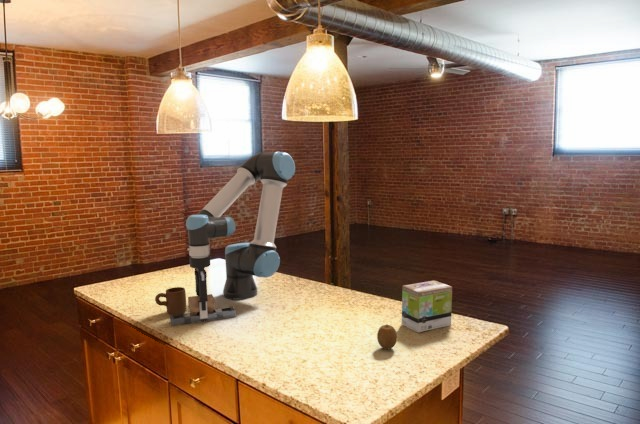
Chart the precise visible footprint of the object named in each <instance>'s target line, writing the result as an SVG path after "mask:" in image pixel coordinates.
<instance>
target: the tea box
mask: <svg viewBox="0 0 640 424" xmlns="http://www.w3.org/2000/svg"><path fill="white" fill-rule="evenodd" d="M401 289H402V291H401V293H402V295H401V296H402V297H401V325H403V326H404V327H406V328H408V329H410V330H411V331H414V332H416V333H419V334H420V333H422V332H425V331H426V332H427V331H430V330H435V329H440V328H446V327H450V326H451V325H452V314H453V313H452V310H453V309H452V308H453V307H452V304H453V303H452V302H453V286H451V285H448V284H447V283H443V282H439V281H438V280H428V281H424V282H417V283H412V284H404V285H402V288H401Z"/></svg>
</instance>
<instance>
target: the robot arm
mask: <svg viewBox="0 0 640 424" xmlns="http://www.w3.org/2000/svg"><path fill="white" fill-rule="evenodd" d="M295 172H296V164H295V161H294V159H293V157H292V156H291V155H290V154H289V153H287V152H284V151H274V152H273V151H271V152H269V151H268V152H258V153H255V154H254V155H252V156H251V157H249V158H248V159H247V160H245V161H244V162H242V164H241V165H240V166H239V167H238V168H237V170H236V174H234V176H233V177H232V178H230V180H229V181H228V182H226V183H225V185H224V186H223V187H222V188H221V189H220V190H219V191H218V192H217V193H216V195H214V196H213V198H212V199H210V200H209V201H208V203H207V204H206V205H205V206H204V207H203V208H202V209H200V211H199V212H198V213H197V214H191V215H189V216H188V217H187V219H186V221H185V226H186V230H187V235H188V237H187V238H188V248H187V251H188V253H189V254H188V255H189V267H190V268H192V269H194V276H195V277H194V280H195V293H196V295H195V296H200V301H198V303H199V306H200V319H204V318H208V313H207V301H208V299H207V295H208V286H207V285H208V283H207V282H208V281H207V277H208V276H207V271H206V270H205V269H206V268H208V267H210V266H211V256H210V255H211V250H210V249H211V248H210V239H216V238H222V237H228V236H232V235H234V233H235V231H236V223H235V220H234V219H233V218H232V216H222V215H223V214H225V212H226V211H227V210H228V209H229V208H230V207H231V206H232V205H233V203H234V202H236V200H237V199H239V197H240V196H241V195H242V194H243V193H244V192H245V191H246V190H247V189H248V188H249V187H250V186H252V185H254V184H255V183H256V182H258V181H260V182H261V183H262V190H261V195H260V201H259V208H258V212H257V213H258V214H257V220H256V225H255V230H254V235H253V236H254V238H253V239H252V240H251V241H250V242H239V243H233V244H228V245H227V246H226V247H225V250H224V257H225V258H224V259H225V273H226V274H225V275H226V279H225V284H224V285H223V291H222V295H223V297H224V298H226V299H228V300H229V299H231V300H244V299H250V298H252V297H255V296H257V294H258V287H257V284H256V282H255V279H254V276H255V277H256V278H257V277H258V278H270V277H272V276H273V275H274V274H275V273H277V271H278V269H279V267H280V262H281V258H280V255H279V253H278V252H277V246H276V244H275V239H276V238H275V237H276V230H277V225H278V219H279V213H280V208H281V202H282V201H281V200H282V196H283V195H282V194H283V189H284V188H285V187H286V186H288V182H289V181H288V180H290V179H292V178H293V176H294V175H295Z"/></svg>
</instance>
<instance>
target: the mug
mask: <svg viewBox="0 0 640 424" xmlns="http://www.w3.org/2000/svg"><path fill="white" fill-rule="evenodd" d="M160 298H165V300H161V299H160ZM154 300H155V303H156V305H158V306H163V307H166V313H167V314H168V315H169V316H170V315H177V314H184V313H187V295H186V289H185V288H184V287H183V286H182V287H181V286H180V287H179V286H177V287H176V286H175V287H170V288H167V289H166V290H165V293H164V292H160V293H157V294H156V296H155V299H154Z"/></svg>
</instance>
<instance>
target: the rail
mask: <svg viewBox="0 0 640 424" xmlns="http://www.w3.org/2000/svg"><path fill="white" fill-rule="evenodd" d="M236 313H237V312H236V309H235V308H234V306H228V307H221V308H219V307H218V308H215V309H214V310H213V313H210V314H208V318H204V319H200V311H199V312H197V315H196V316H191V315H190V312H185V313H183V314H177V315H169V324H170V327H176V326H183V325H189V324H197V323H204V322H210V321H215V320H217V321H218V320H223V319H224V320H225V319H230V318H236V317H237V316H236V315H237V314H236Z"/></svg>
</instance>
